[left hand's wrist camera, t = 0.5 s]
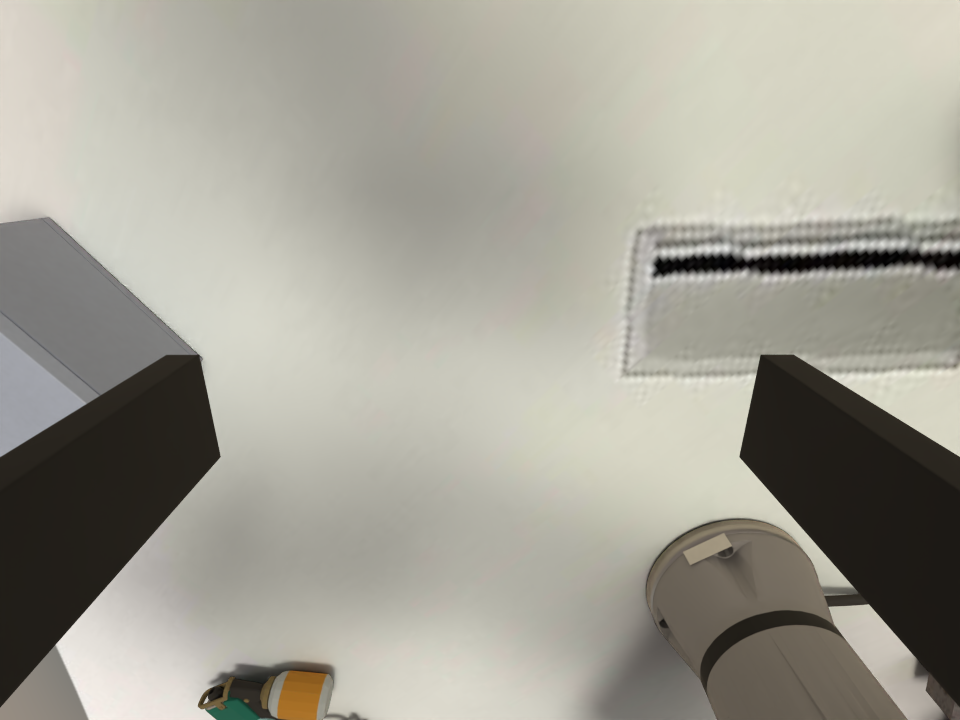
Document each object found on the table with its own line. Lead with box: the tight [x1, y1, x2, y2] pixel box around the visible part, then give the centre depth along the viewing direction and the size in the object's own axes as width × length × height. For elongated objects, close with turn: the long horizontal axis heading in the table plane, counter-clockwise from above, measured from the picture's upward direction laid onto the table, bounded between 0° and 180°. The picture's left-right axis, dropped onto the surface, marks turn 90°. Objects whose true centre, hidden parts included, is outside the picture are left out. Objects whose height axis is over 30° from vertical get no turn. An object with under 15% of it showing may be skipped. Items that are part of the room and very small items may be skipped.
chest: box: [0, 218, 202, 395], centre depth 36 cm, size 14×9×10 cm, turn 39°
